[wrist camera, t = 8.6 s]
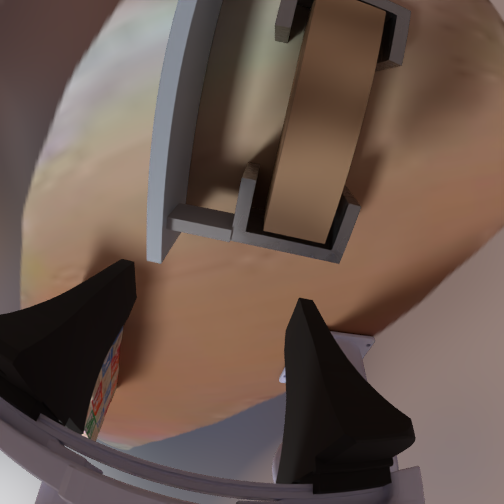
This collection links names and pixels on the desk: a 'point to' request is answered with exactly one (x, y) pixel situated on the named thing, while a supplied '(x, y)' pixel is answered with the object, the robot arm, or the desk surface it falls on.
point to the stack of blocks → (103, 391)
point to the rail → (323, 117)
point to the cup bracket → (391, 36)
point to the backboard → (181, 133)
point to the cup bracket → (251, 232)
